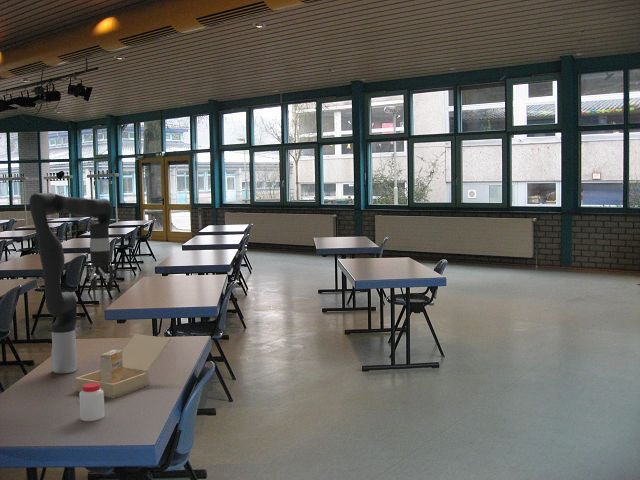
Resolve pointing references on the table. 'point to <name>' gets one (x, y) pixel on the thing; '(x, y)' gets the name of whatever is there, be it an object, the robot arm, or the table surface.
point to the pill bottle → (91, 402)
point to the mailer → (129, 383)
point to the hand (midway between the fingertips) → (102, 290)
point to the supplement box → (111, 366)
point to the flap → (143, 351)
